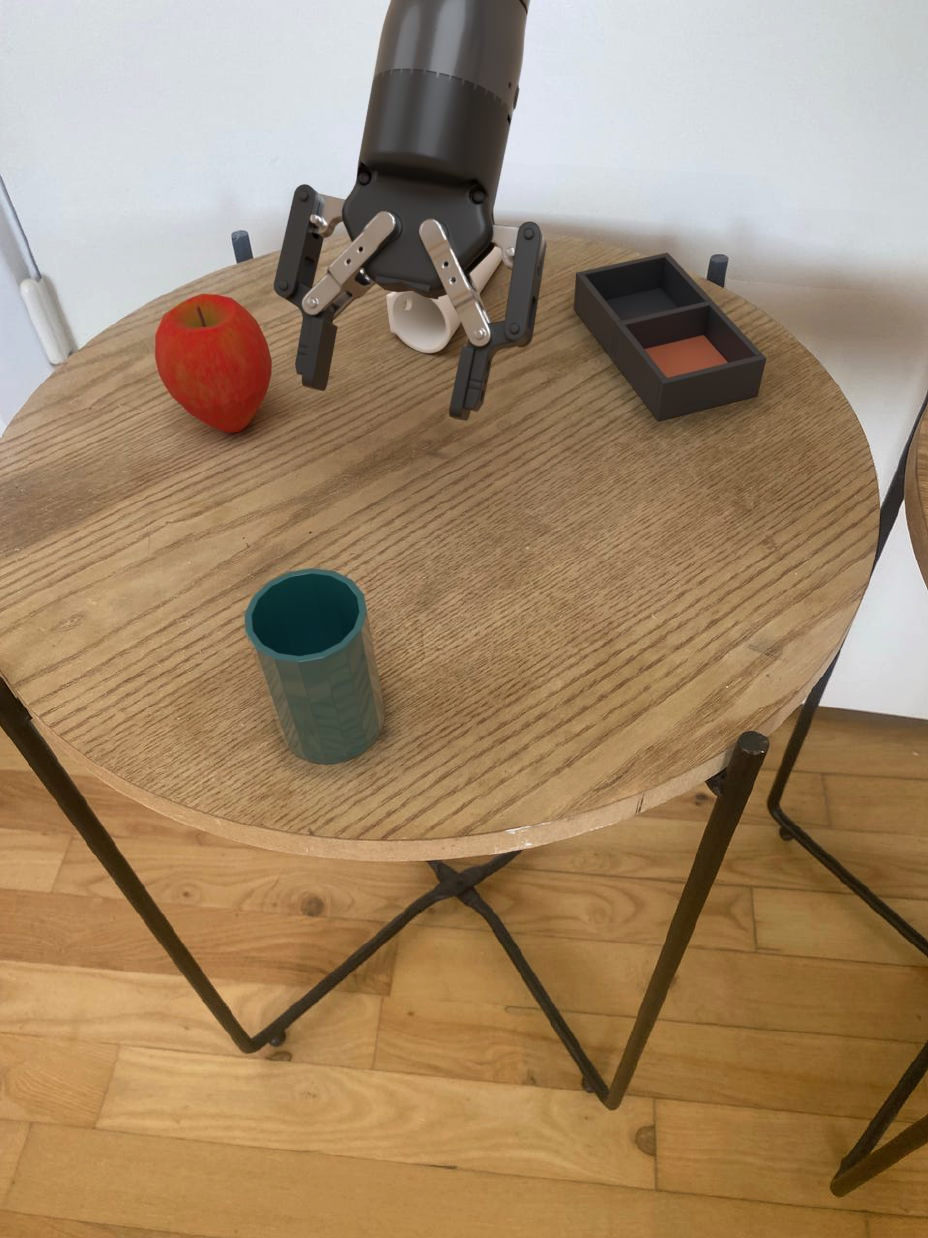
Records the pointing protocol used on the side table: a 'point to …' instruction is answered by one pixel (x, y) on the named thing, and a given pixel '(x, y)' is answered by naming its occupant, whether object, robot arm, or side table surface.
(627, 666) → the side table surface
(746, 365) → the divided tray
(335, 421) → the side table surface
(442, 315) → the long cone
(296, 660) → the cutlery cup
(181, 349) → the apple
